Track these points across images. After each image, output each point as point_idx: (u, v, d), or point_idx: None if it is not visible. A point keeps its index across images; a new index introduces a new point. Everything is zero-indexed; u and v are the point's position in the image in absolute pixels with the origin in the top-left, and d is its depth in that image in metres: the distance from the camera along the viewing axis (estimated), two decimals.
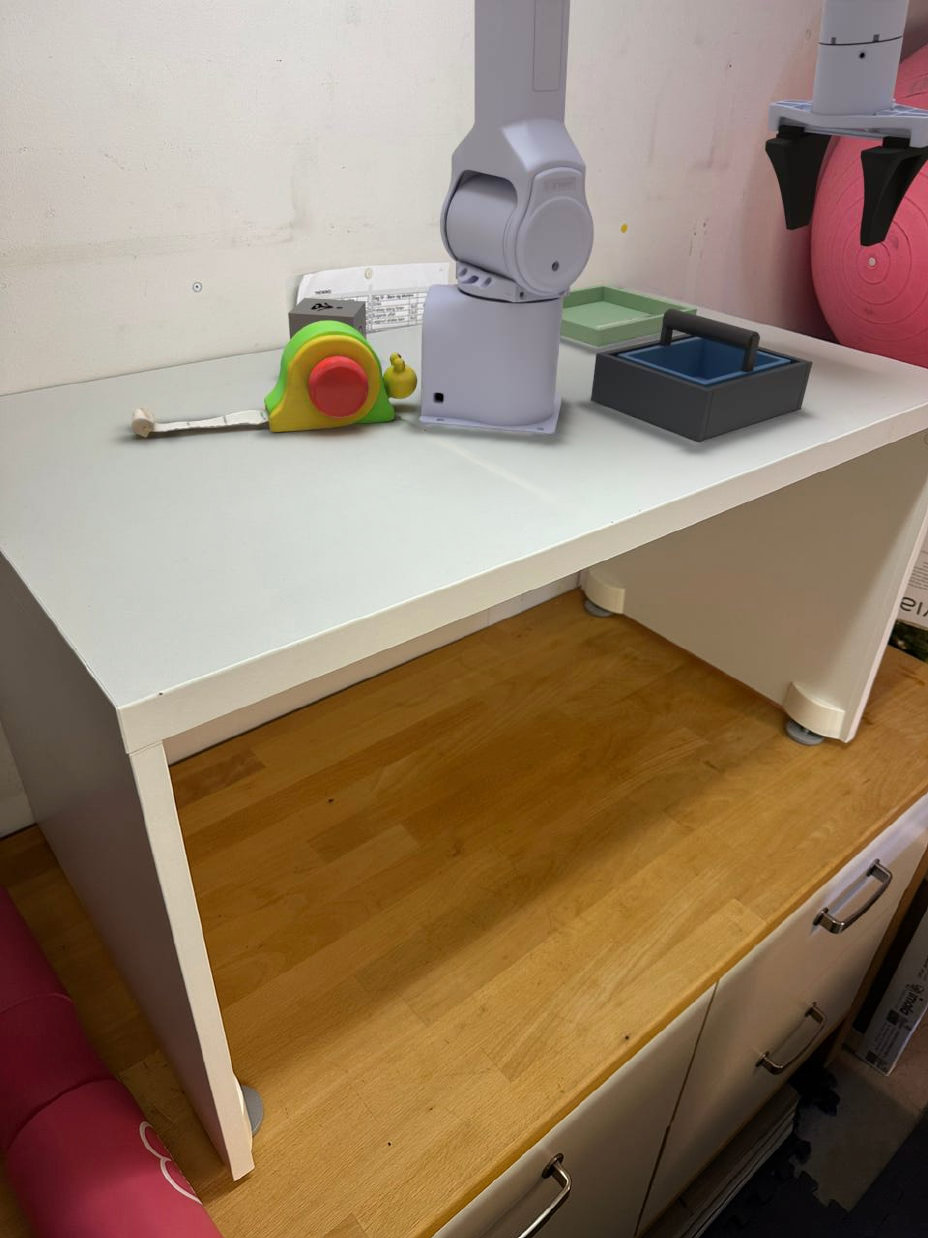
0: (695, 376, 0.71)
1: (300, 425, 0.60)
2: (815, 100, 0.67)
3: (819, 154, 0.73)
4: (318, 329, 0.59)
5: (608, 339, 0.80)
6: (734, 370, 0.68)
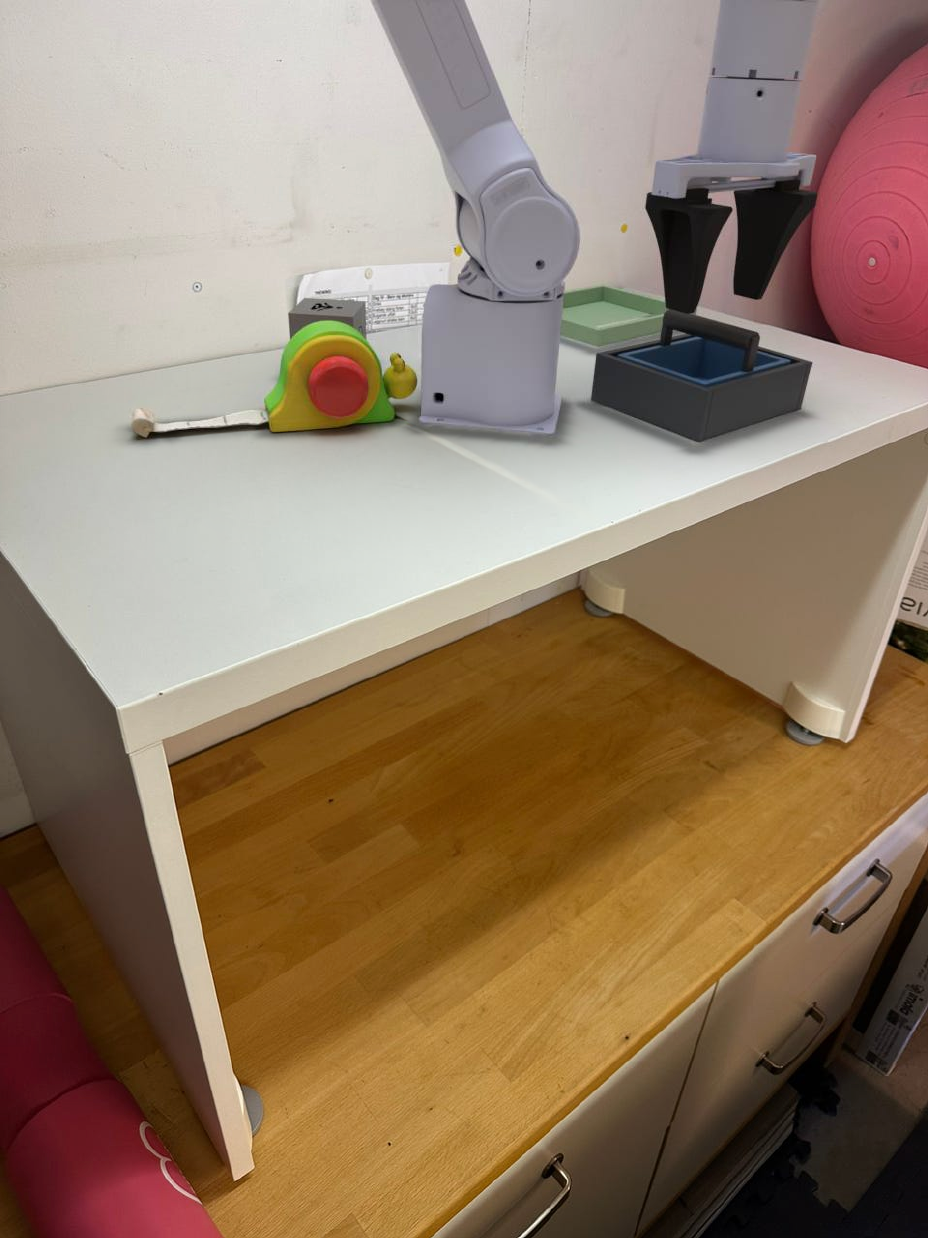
0: (695, 376, 0.71)
1: (300, 425, 0.60)
2: None
3: (780, 220, 0.61)
4: (318, 329, 0.59)
5: (608, 339, 0.80)
6: (734, 370, 0.68)
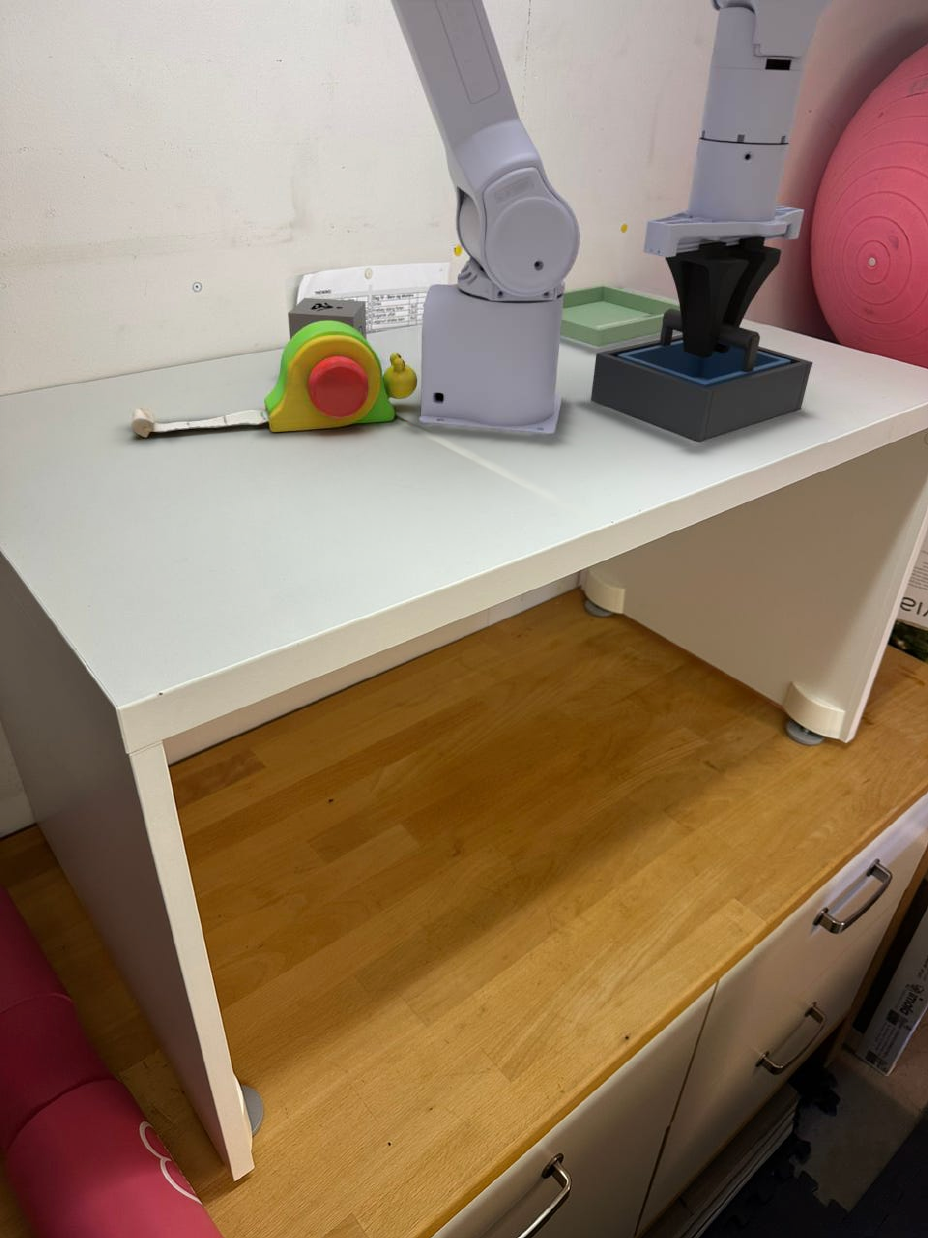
0: (695, 376, 0.71)
1: (300, 425, 0.60)
2: None
3: (744, 277, 0.61)
4: (318, 329, 0.59)
5: (608, 339, 0.80)
6: (734, 370, 0.68)
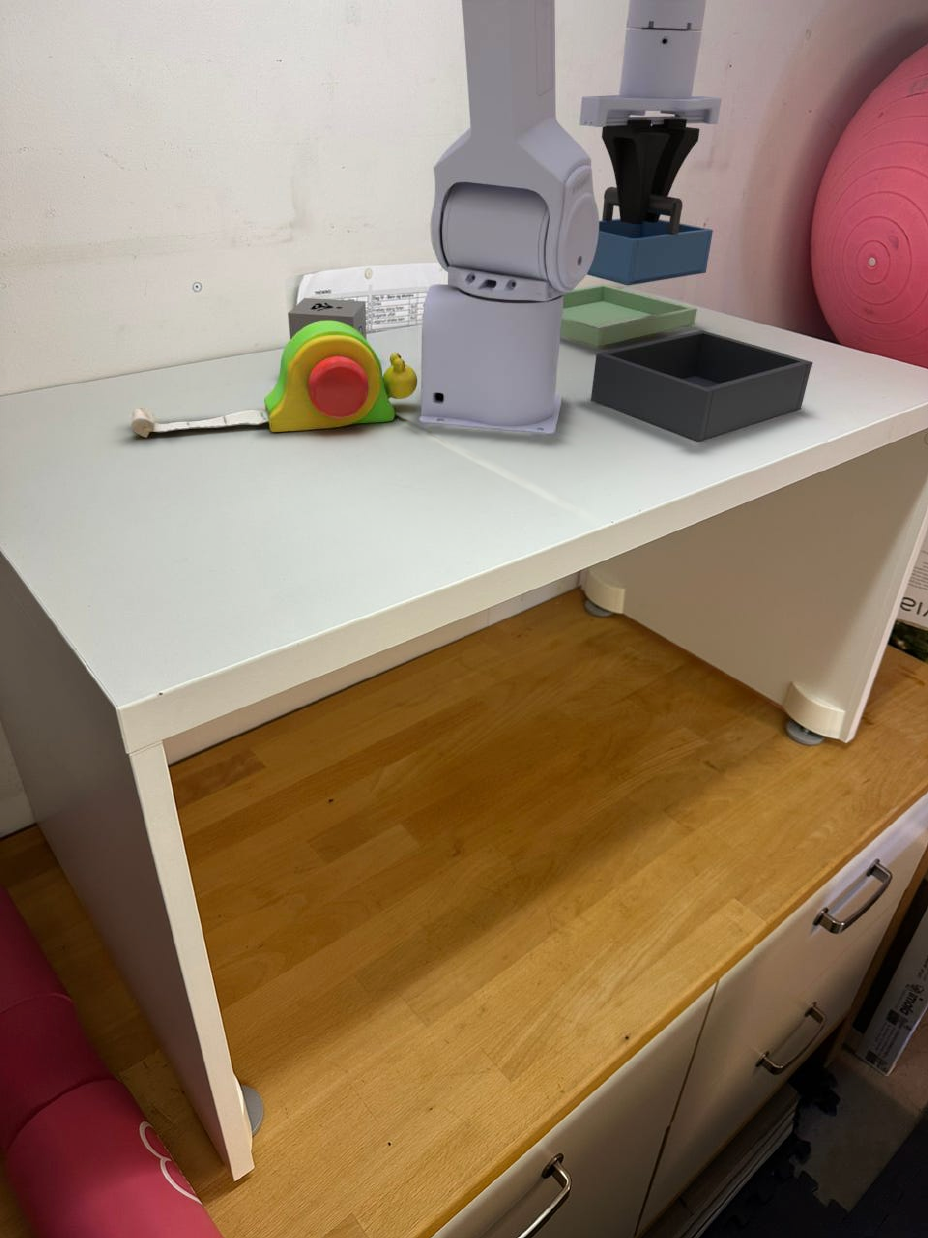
0: None
1: (300, 425, 0.60)
2: None
3: (668, 152, 0.72)
4: (318, 329, 0.59)
5: (608, 339, 0.80)
6: None
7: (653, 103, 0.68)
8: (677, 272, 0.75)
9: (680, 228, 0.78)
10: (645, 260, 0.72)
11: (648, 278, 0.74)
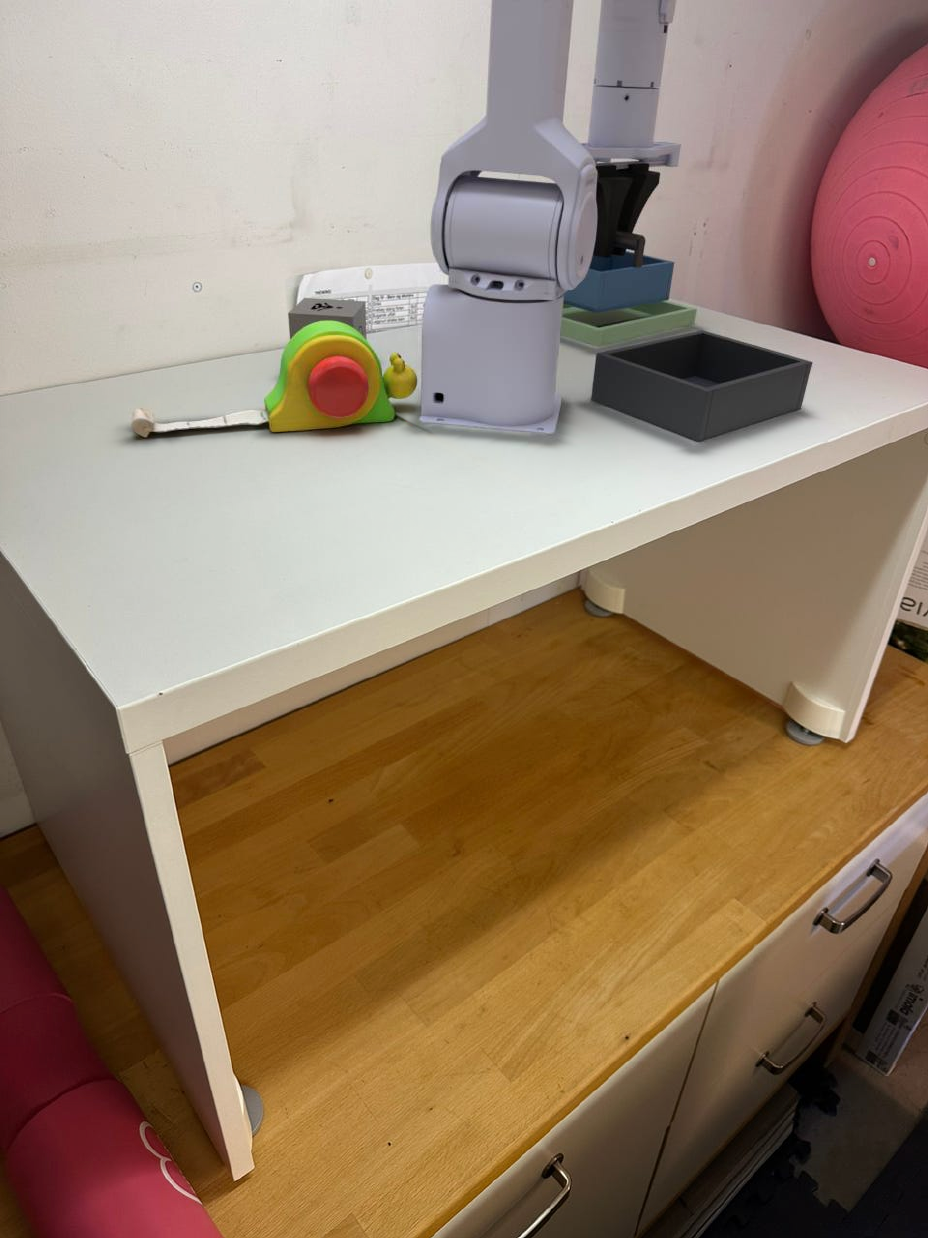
0: None
1: (300, 425, 0.60)
2: None
3: (632, 194, 0.80)
4: (318, 329, 0.59)
5: (608, 339, 0.80)
6: None
7: (617, 152, 0.76)
8: (642, 300, 0.83)
9: (645, 260, 0.86)
10: (612, 290, 0.80)
11: (615, 306, 0.82)
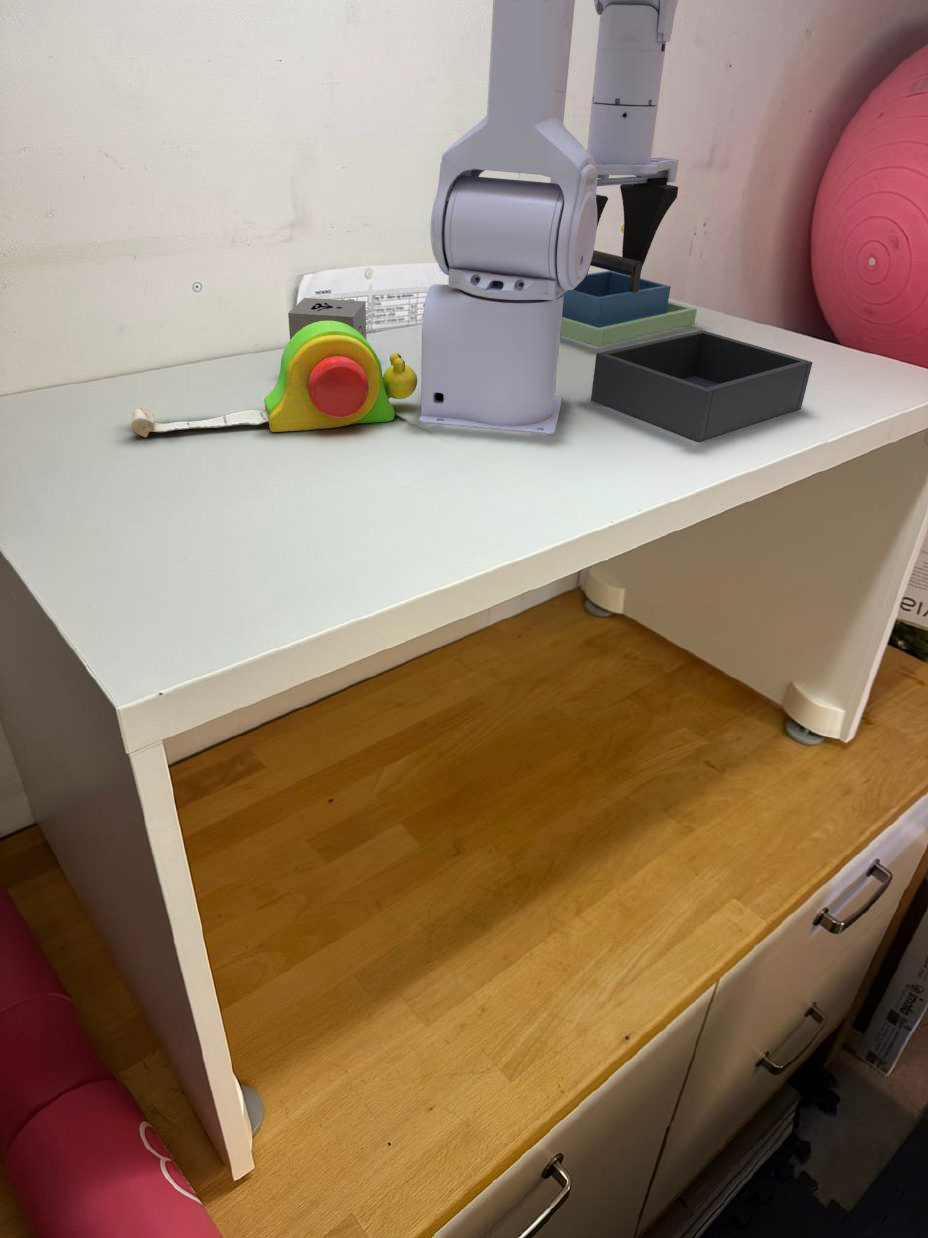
0: None
1: (300, 425, 0.60)
2: None
3: (651, 207, 0.82)
4: (318, 329, 0.59)
5: (608, 339, 0.80)
6: None
7: (615, 169, 0.77)
8: None
9: (642, 283, 0.87)
10: (609, 315, 0.82)
11: None
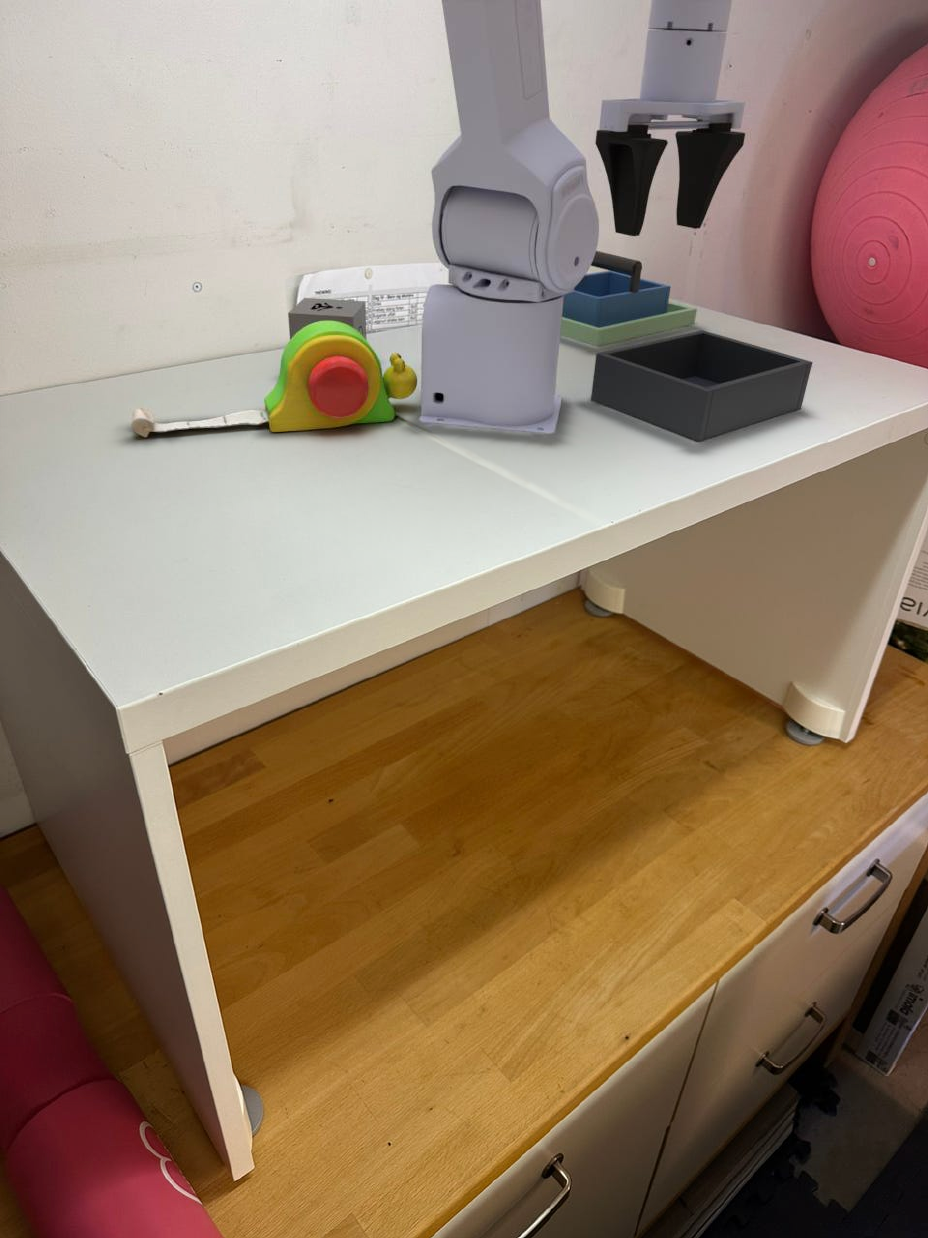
0: None
1: (300, 425, 0.60)
2: None
3: (713, 157, 0.71)
4: (318, 329, 0.59)
5: (608, 339, 0.80)
6: None
7: (676, 107, 0.65)
8: None
9: (642, 283, 0.87)
10: (609, 315, 0.82)
11: None
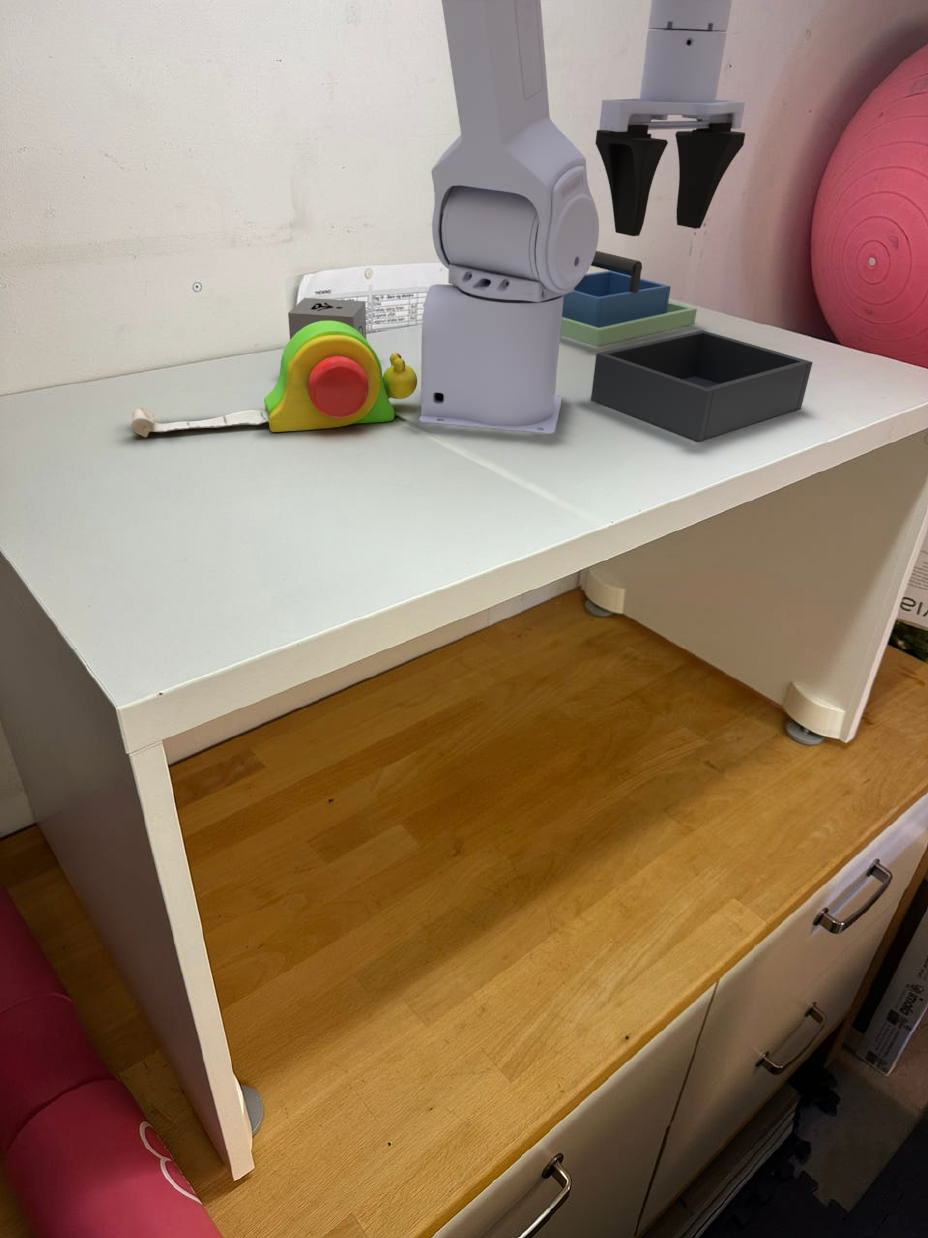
0: None
1: (300, 425, 0.60)
2: None
3: (713, 157, 0.71)
4: (318, 329, 0.59)
5: (608, 339, 0.80)
6: None
7: (676, 107, 0.65)
8: None
9: (642, 283, 0.87)
10: (609, 315, 0.82)
11: None
